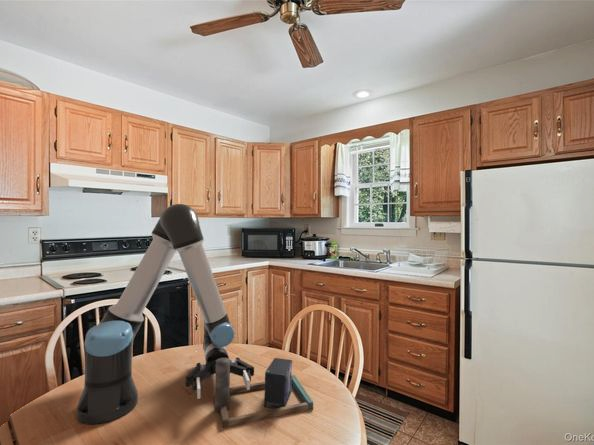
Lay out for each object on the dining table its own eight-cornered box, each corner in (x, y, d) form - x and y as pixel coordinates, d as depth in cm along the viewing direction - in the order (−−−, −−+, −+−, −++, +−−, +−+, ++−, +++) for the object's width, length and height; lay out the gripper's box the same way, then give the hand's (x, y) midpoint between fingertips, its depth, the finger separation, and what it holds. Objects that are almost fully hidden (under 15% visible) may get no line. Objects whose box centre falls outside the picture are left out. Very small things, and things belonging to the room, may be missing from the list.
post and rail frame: (217, 428, 80) (218, 375, 80) (212, 395, 95) (213, 350, 95) (313, 408, 89) (313, 360, 89) (294, 381, 104) (294, 340, 104)
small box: (284, 411, 88) (285, 374, 88) (263, 408, 89) (263, 372, 89) (292, 391, 98) (293, 359, 98) (273, 389, 100) (273, 357, 100)
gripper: (252, 363, 110) (267, 394, 90) (177, 374, 101) (176, 411, 81) (252, 342, 110) (267, 369, 90) (178, 351, 101) (176, 383, 81)
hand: (224, 389), depth 85 cm, fingers open, 13 cm apart
